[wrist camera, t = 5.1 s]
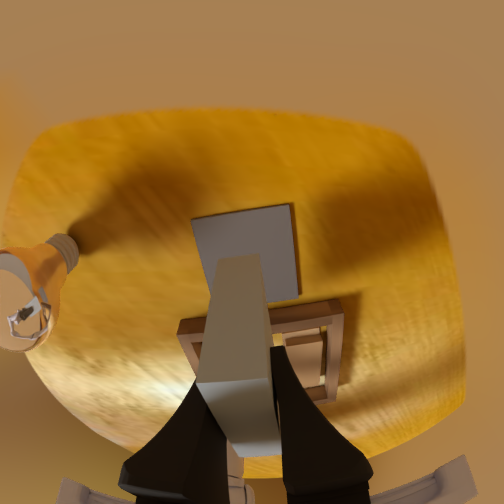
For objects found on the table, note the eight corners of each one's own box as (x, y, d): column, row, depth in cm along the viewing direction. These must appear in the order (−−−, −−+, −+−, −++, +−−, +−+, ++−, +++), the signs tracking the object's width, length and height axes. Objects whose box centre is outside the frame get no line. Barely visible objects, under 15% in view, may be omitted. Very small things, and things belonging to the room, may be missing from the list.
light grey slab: (273, 345, 18) (283, 454, 11) (241, 348, 18) (239, 457, 11) (258, 253, 15) (267, 378, 7) (218, 259, 15) (195, 383, 8)
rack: (332, 388, 29) (335, 401, 27) (217, 402, 30) (216, 415, 28) (338, 298, 23) (344, 313, 21) (180, 319, 24) (176, 335, 22)
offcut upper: (317, 378, 28) (319, 385, 27) (287, 383, 28) (288, 390, 27) (320, 333, 25) (322, 341, 24) (284, 339, 25) (286, 346, 24)
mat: (297, 296, 23) (298, 298, 22) (215, 307, 23) (215, 309, 23) (288, 203, 19) (289, 205, 19) (191, 219, 19) (190, 220, 19)
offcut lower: (317, 371, 29) (319, 377, 28) (287, 376, 29) (288, 382, 28) (317, 320, 25) (319, 327, 24) (280, 326, 25) (281, 333, 24)
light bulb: (73, 191, 18) (-35, 264, 7) (118, 260, 21) (44, 368, 10) (33, 230, 19) (-51, 303, 9) (73, 288, 22) (9, 378, 12)
